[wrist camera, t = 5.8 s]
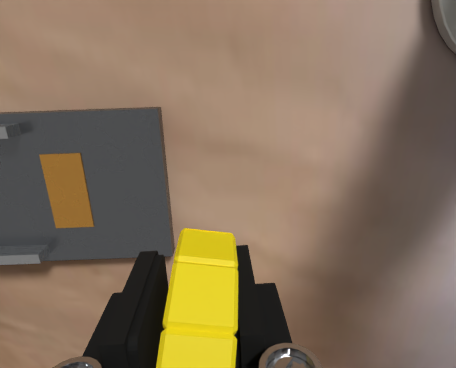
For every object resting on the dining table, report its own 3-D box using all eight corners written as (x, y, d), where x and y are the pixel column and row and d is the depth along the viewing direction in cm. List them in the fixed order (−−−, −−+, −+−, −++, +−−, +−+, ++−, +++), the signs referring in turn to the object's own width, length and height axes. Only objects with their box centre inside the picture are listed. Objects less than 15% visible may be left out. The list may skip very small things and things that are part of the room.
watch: (227, 353, 12) (237, 598, 6) (153, 347, 12) (95, 594, 6) (253, 206, 10) (298, 366, 5) (166, 196, 10) (98, 349, 4)
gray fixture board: (160, 107, 24) (153, 110, 21) (174, 248, 28) (169, 266, 25) (-110, 116, 24) (-150, 121, 21) (-58, 257, 28) (-86, 275, 25)
